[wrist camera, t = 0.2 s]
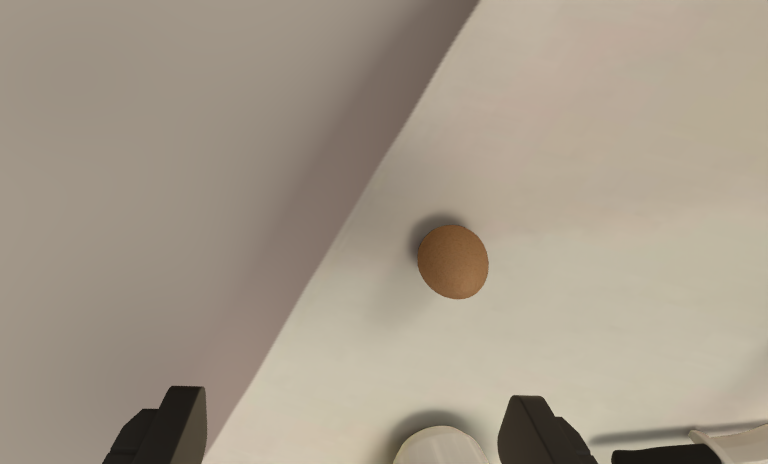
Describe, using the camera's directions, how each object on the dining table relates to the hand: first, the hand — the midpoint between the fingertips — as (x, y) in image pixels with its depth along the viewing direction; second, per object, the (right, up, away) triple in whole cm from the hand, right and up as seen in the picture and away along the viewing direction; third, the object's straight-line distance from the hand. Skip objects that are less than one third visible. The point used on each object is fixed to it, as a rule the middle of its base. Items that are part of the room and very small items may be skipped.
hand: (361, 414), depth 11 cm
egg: (+5, +4, +19) cm, 20 cm away
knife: (+32, -14, +30) cm, 46 cm away
